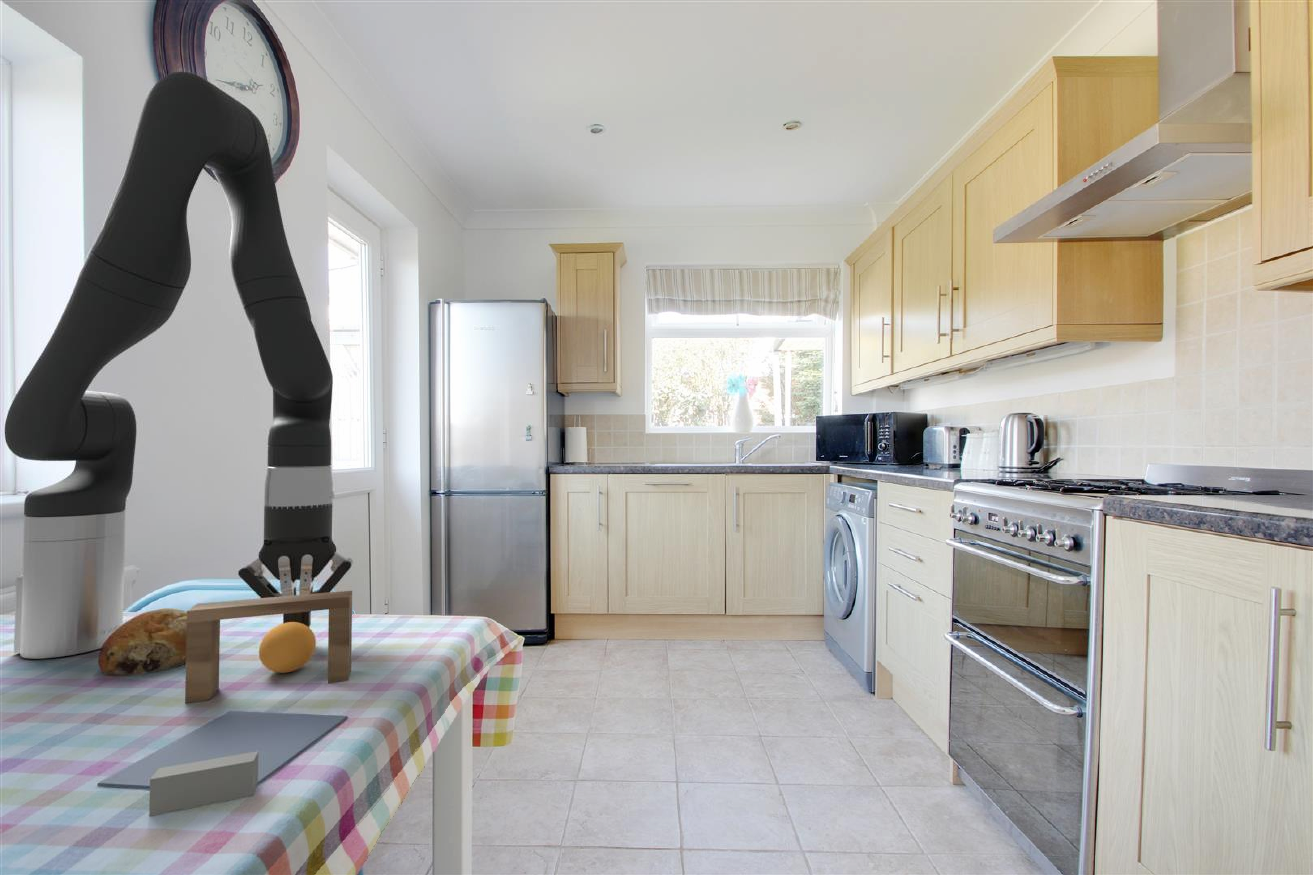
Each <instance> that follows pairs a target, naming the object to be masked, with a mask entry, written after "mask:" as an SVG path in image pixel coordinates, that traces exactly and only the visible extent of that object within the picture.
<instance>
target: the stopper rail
mask: <svg viewBox="0 0 1313 875" xmlns="http://www.w3.org/2000/svg"><path fill="white" fill-rule="evenodd" d="M258 752H259V751H256V752H250V753H245V754H239V755H233V756H227V757H221V758H216V759H210V760H204V761H198V762H192V763H187V764H181V765H175V766H169V767H164V768H159V769H158V770H157V771H156V772H155V774H154V775H153V776H152V777H151V779H150V789H149V800H148V801H149V804H148V805H149V808H148V816H149V817H151V816H156V815H160V814H166V813H170V812H171V813H172V812H176V811H181V810H186V809H190V808H196V807H201V806H207V805H211V804H216V803H221V802H227V801H232V800H236V799H241V798H246V797H252V796H254V794H255V791H256V790H257V787H258V785H259V784H258Z"/></svg>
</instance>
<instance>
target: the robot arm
mask: <svg viewBox="0 0 1313 875" xmlns="http://www.w3.org/2000/svg"><path fill="white" fill-rule="evenodd" d="M133 136H134V137H133V139H132V144H131V147H130V150H129V154H128V157H127V162H126V164H125V168H124V171H123V174H122V176H121V179H120V181H119V184H118V186H117V188H116V192H115V194H114V196H113V199H112V201H111V204H110V206H109V209H108V212H107V214H106V217H105V218H104V221H103V224H102V225H101V228H100V230H99V231H98V234H97V236H96V237H95V240H94V242H93V244H92V246H91V247H90V250H89V252H88V253H87V256H86V258H85V260H84V263H83V265H82V267H81V269H80V271H79V274H78V277H77V279H76V282H75V284H74V288H73V289H72V292H71V295H70V296H69V299H68V301H67V304H66V305H65V308H64V310H63V312H62V315H61V316H60V318H59V320H58V322H57V325H56V327H55V329H54V331H53V333H52V335H51V337H50V338H49V340H48V342H47V344H46V346H45V348H44V349H43V351H42V352H41V353H40V355H39V357H38V359H37V360H36V362H35V364H34V365H33V367H32V368H31V370H30V372H29V373H28V375H27V376H26V378H25V379H24V381H23V383H22V384H21V386H20V388H19V389H18V391H17V393H16V395H15V396H14V398H13V400H12V402H11V405H10V407H9V408H8V411H7V414H6V418H5V424H4V438H5V439H4V440H5V442H6V443H5V444H6V446H7V447H8V449H9V450H10V452H11V453H12V454H14V455H15V456H17V457H19V458H21V459H24V460H30V461H36V462H37V461H40V462H42V461H43V462H74V461H75V464H74V469H73V471H72V472H71V473H70V474H69V475H68V476H66V477H65V478H64V479H62V480H59V481H58V482H56V483H54V484H52V485H49V486H46V487H43V488H39V489H37V490H34V491H31V492H29V493H28V494H27V495H26V497H25V498H24V502H23V503H24V504H23V515H24V517H23V538H22V541H23V546H22V574H21V575H19V576H17V577H16V580H15V600H14V602H15V604H14V630H13V631H14V632H13V634H14V637H13V638H14V640H13V653H14V654H20V657H22V658H23V659H51V658H52V659H53V658H59V657H65V656H66V657H67V656H72V655H77V654H78V655H79V654H82V653H84V654H85V653H87V652H88V653H89V652H92V651H96V650H99V649H100V650H101V649H102V646H103V644H104V642H105V641H106V640H107V639H108V637H109V636H110V635H111V634H112V633H113V632H114V631H116V630H117V629H118V628H119V627H120V626H122V625H123V624H124V622H123V621H124V597H125V596H124V591H125V588H124V586H125V583H124V582H125V542H126V539H125V538H126V537H125V536H126V532H125V531H126V505H127V504H126V502H127V498H128V495H129V494H130V491H131V488H132V485H133V476H134V466H135V465H134V463H135V454H136V453H135V452H136V442H137V419H136V414H135V411H134V409H133V407H132V405H131V403H130V401H128V400H127V399H126V398H125V397H124V396H122V395H120V394H116V393H112V392H104V391H103V392H102V391H96V390H95V391H94V390H88V388H89V387H90V385H91V383H92V382H93V380H94V379H95V378H96V376H97V375H98V374H99V372H100V371H101V370H103V368H105V366H106V365H107V364H109V363H110V362H111V361H112V360H113V359H115V358H116V357H118V356H119V355H121V354H123V353H124V352H125V351H127V350H129V349H130V348H132V347H133V346H135V345H137V344H138V343H140V342H142V341H143V340H145V339H146V338H147V337H149V336H150V335H152V334H153V333H156V331H158V330H159V329H160V328H161V327H162V326H164V325H165V323H167V322H168V321H169V319H170V318H171V317H172V315H173V313H174V311H175V310H176V307H177V305H178V303H179V301H180V299H181V297H182V295H183V292H184V290H185V288H186V286H187V284H188V281H189V279H190V274H191V272H192V270H191V268H192V256H191V245H190V235H189V232H188V231H189V229H188V222H187V221H188V220H187V216H188V205H189V203H190V202H189V201H190V198H191V195H192V193H193V190H194V188H195V186H196V183H197V181H198V179H199V177H200V175H201V173H202V171H203V169H204V167H205V168H207V169H209V170H211V171H212V173H213V175H214V177H215V178H216V180H217V182H218V183H219V186H220V188H221V189H222V191H223V192H222V193H223V194H224V196H225V199H226V202H227V205H228V208H229V213H230V219H231V220H230V221H231V233H230V242H229V249H228V250H229V253H228V254H229V255H228V256H229V265H230V266H229V267H230V272H231V276H232V279H233V283H234V286H235V287H236V288H235V289H236V291H237V294H238V296H239V299H240V302H241V304H242V307H243V311H244V313H245V315H246V317H247V320H248V321H249V323H250V326H251V328H252V329H253V334H254V338H255V342H256V346H257V349H258V354H259V357H260V361H261V364H262V367H263V371H264V373H265V376H266V378H267V381H268V383H269V385H270V386H271V388H272V424H271V426H270V428H269V431H268V436H267V467H266V476H265V480H264V481H265V482H264V491H263V492H264V496H263V497H264V499H263V500H264V502H263V504H264V506H263V544H262V546H261V549H260V550H259V552H258V558H256V559H255V560H253V561H252V562H251V563H249V564H246V565H244V566H243V567H242V568H241V569H239V570H238V573H237V575H238V576H239V578H240V579H242V581H243V582H244V583H246V584H247V586H248V587H249V588H251V590H252V591H253V592H254V593H255V594H256V595H257V596H258V598H270V597H281V596H293V595H305V594H317V593H329V592H332V590H333V589H334V588H335V586H337V584H338V583H339V582H340V581H341V580H342V579H343V578H344V576H345V575H346V574H347V573H348V571H349V570H350V569H351V567H352V565H353V563H354V562H353V559H352V558H350V557H349V558H346V557H344V556H343V555H341V554H340V553H338V552H337V546H336V544H335V543H334V540H333V505H334V504H333V501H334V500H333V499H334V494H335V493H334V491H333V489H334V488H333V487H334V486H333V485H334V482H333V476H332V467H331V465H332V435H331V427H330V421H331V413H332V412H331V411H332V400H333V386H334V385H333V383H334V382H333V381H334V380H333V379H334V378H333V377H334V375H333V371H332V368H331V365H330V362H329V359H328V358H327V354H326V352H325V350H324V348H323V345H322V342H321V340H320V337H319V335H318V333H317V331H316V329H315V325H314V324H313V321H312V315H311V309H310V307H309V306H310V305H309V303H308V300H307V297H306V294H305V291H304V287H303V285H302V283H301V279H300V276H299V274H298V271H297V269H296V265H295V263H294V260H293V257H292V252H291V250H290V246H289V244H288V239H287V235H286V232H285V228H284V223H283V222H284V221H283V218H282V213H281V208H280V202H279V198H278V191H277V187H276V182H275V175H274V167H273V163H272V157H271V156H272V155H271V152H270V145H269V142H268V138H267V134H266V131H265V128H264V126H263V124H262V122H261V121H260V119H259V118H258V116H257V115H255V113H254V112H253V111H252V110H251V109H250V108H248V107H247V106H246V105H245V104H243V103H241V102H240V101H239V100H237V99H235V98H234V97H232V96H231V95H230V94H228V93H227V92H225V91H224V90H223V89H221V88H220V87H217V86H216V85H215V84H213V83H211V82H210V81H209V80H207V79H205V78H204V77H202V76H200V75H198V74H196V73H194V72H193V73H192V72H189V71H175V72H171V73H168V74H166V75H164V76H163V77H162V78H160V79H159V80H158V81H157V82H156V83H155V84H153V86H152V87H151V90H150V91H149V93H148V94H147V97H146V99H145V101H144V104H143V106H142V109H141V112H140V116H139V119H138V122H137V126H136V128H135V133H134V135H133ZM330 561H331V562H332V563H331V566H330V570H331V572H332V574H331V575H330V576H329V577H328V578H327V579H326V580H325V582H324V583H323V584H322V585H321V586H320V588H318V589H317V590H314V586H315V578H317V577H318V576H319V575H320V574H321V573H322V571H323V570H324V569H325V568H326V566H327V565H328V564H329V563H330ZM264 567H265V568H266V569H267V570H268V571H269V572H270V573H271V575H272V576H273V577H274V578H275V579H277V581H279V583H280V584H279V585H280V591H279V590H278V589H277V588H276V587H275V586H274V585H273V584H272V583H271V582H270V581H269V580H268V579H267V577H265V576H264V574H265V573H266V571H265V568H264ZM297 580H298V581H299V584H298V581H297ZM297 585H298V586H299V587H298V589H299V593H298V591H297ZM282 616H283V618H282V624H283V623H287V622H298V623H302V624H304V625H306V626H308V627H309V628H310V627H311V625H312V624H311V621H312V611H307V612H297V613H286V614H282Z"/></svg>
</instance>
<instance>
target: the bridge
mask: <svg viewBox="0 0 1313 875" xmlns="http://www.w3.org/2000/svg"><path fill="white" fill-rule="evenodd" d="M326 610H328V630H327V631H328V633H327V634H328V635H327V636H328V637H327V638H328V639H327V640H328V641H327V642H328V643H327V644H328V645H327V647H328V648H327V652H328V653H327V684H332V683H338V682H346V681H349V679H350V677H351V672H352V641H353V640H352V637H353V636H352V635H353V633H352V632H353V630H352V629H353V627H352V625H353V590H344V591H343V590H341V591H331V592H329V593H317V594H305V595H299V594H297V595H293V596H281V597H270V598H260V597H258V598H249V599H236V600H224V601H222V600H221V601H215V602H201V603H200V602H199V603H197V604H195V605H194V606H192V607H191V608H189V609H187V610H186V612H187V634H186V663H185V686H184V688H185V691H184V696H185V697H184V704H188V703H194V702H203V701H208V700H209V701H210V700H211V699H212V697H213V696H214V695H215V694H216V693H217V692H218V690H219V689H220V654H221V653H220V652H221V651H220V649H221V648H220V645H221V642H220V641H221V638H220V637H221V620H230V619H232V620H233V619H242V618H251V617H252V618H253V617H254V618H255V617H263V616H264V617H265V616H271V615H272V616H274V615H283V614H286V613H297V612H307V611H311V612H317V611H326Z"/></svg>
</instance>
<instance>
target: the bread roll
mask: <svg viewBox="0 0 1313 875" xmlns="http://www.w3.org/2000/svg"><path fill="white" fill-rule="evenodd" d="M186 634H187V611H185V610H182V609H177V608H159V609H154V610H150V611H149V610H148V611H145V612H143V613H140V614H139V615H136V616H134V617H132V618H130V619H129V620H128V621H126V622H123V625H122V626H120V627H119V628H118V629H117V630H116V631H114V632H113V633H112V634H111V635H110V636H109V637H108V639H107V640H106V641H105V642H104V644H103V646H102V648H100V652H99V656H98V661H97V663H98V668H99V669H100V671H102V673H104V674H105V673H106V674H105V675H109V676H135V675H142V674H148V673H153V672H157V671H164V670H167V669H170V668H171V669H172V668H174V667H177V666H181V665H186Z"/></svg>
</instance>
